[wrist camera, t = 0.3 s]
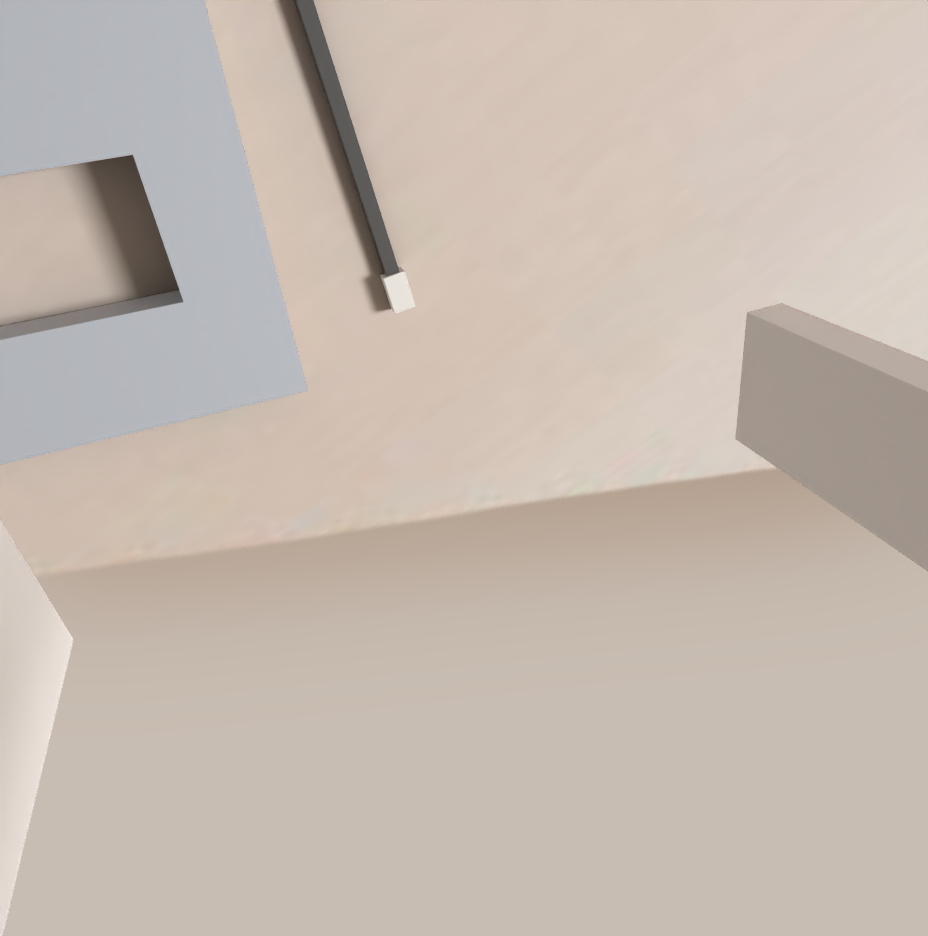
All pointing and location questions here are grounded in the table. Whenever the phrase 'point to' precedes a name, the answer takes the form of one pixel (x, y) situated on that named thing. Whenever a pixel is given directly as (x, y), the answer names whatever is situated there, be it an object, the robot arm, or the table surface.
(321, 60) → the cable
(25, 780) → the robot arm
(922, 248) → the table surface
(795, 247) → the table surface
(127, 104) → the plate
